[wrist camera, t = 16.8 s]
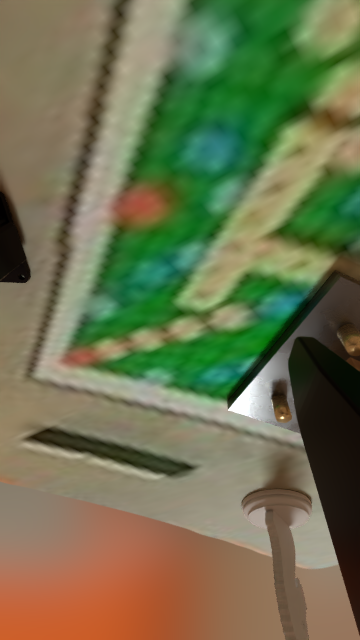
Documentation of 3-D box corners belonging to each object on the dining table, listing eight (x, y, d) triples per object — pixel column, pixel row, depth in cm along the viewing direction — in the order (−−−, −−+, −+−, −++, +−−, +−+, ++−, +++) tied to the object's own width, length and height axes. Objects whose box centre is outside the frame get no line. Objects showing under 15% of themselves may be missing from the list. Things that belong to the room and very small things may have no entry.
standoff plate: (227, 401, 29) (229, 427, 26) (335, 270, 20) (353, 291, 17) (355, 444, 32) (368, 471, 29) (499, 345, 23) (535, 372, 20)
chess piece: (257, 522, 46) (277, 670, 33) (230, 496, 41) (241, 656, 29) (319, 512, 42) (367, 673, 30) (297, 483, 38) (343, 658, 25)
